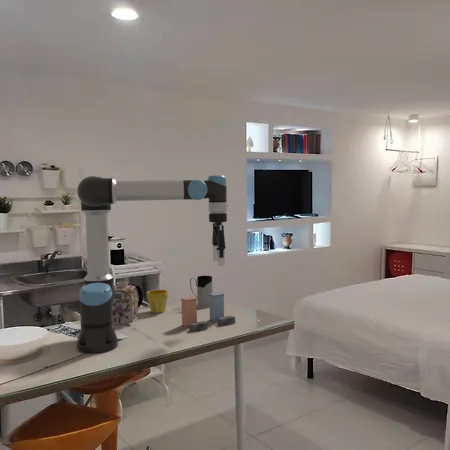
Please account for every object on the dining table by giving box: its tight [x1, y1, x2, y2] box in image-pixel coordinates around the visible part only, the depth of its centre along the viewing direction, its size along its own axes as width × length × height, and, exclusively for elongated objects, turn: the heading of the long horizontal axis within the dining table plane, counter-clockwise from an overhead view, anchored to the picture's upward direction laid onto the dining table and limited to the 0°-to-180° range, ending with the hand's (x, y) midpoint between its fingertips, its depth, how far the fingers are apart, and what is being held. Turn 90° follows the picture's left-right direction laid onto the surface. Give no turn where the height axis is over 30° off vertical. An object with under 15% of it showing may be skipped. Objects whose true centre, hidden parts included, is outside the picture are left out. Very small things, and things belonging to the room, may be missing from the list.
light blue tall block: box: [209, 291, 225, 322], centre depth 210 cm, size 5×4×12 cm
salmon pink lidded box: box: [180, 296, 198, 328], centre depth 202 cm, size 5×4×12 cm
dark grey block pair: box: [189, 315, 236, 333], centre depth 205 cm, size 26×14×4 cm, turn 125°
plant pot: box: [146, 289, 169, 314], centre depth 232 cm, size 10×10×10 cm
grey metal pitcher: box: [189, 275, 214, 309], centre depth 242 cm, size 9×14×15 cm, turn 53°
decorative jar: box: [112, 281, 139, 326], centre depth 214 cm, size 12×12×18 cm
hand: (218, 263), depth 200 cm, fingers open, 13 cm apart
